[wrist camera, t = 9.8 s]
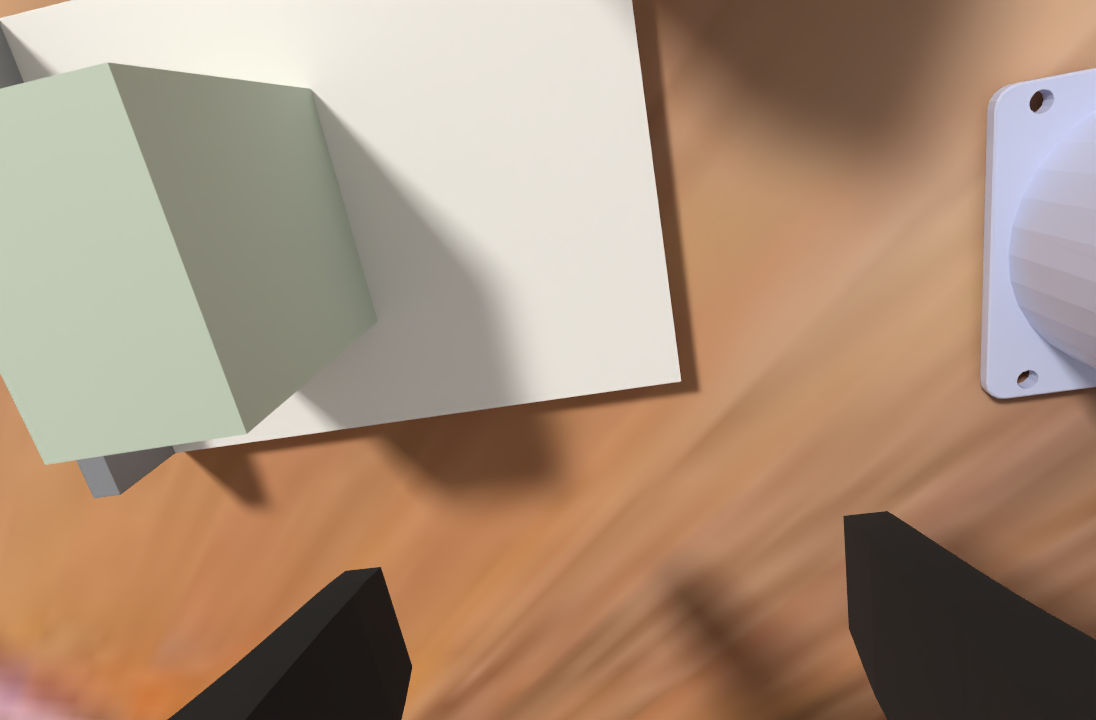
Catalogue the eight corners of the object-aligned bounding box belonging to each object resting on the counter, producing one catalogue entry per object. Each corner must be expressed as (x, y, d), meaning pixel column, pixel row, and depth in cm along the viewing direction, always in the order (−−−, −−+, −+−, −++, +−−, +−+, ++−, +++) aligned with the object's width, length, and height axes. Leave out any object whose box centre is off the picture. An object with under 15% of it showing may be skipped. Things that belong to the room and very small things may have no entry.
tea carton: (310, 88, 16) (107, 62, 9) (377, 321, 18) (246, 433, 11) (147, 125, 17) (-149, 125, 10) (228, 347, 19) (24, 467, 12)
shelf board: (613, -120, 15) (616, -186, 12) (677, 368, 19) (692, 418, 16) (-9, 34, 17) (-149, 13, 14) (160, 443, 21) (80, 499, 18)
